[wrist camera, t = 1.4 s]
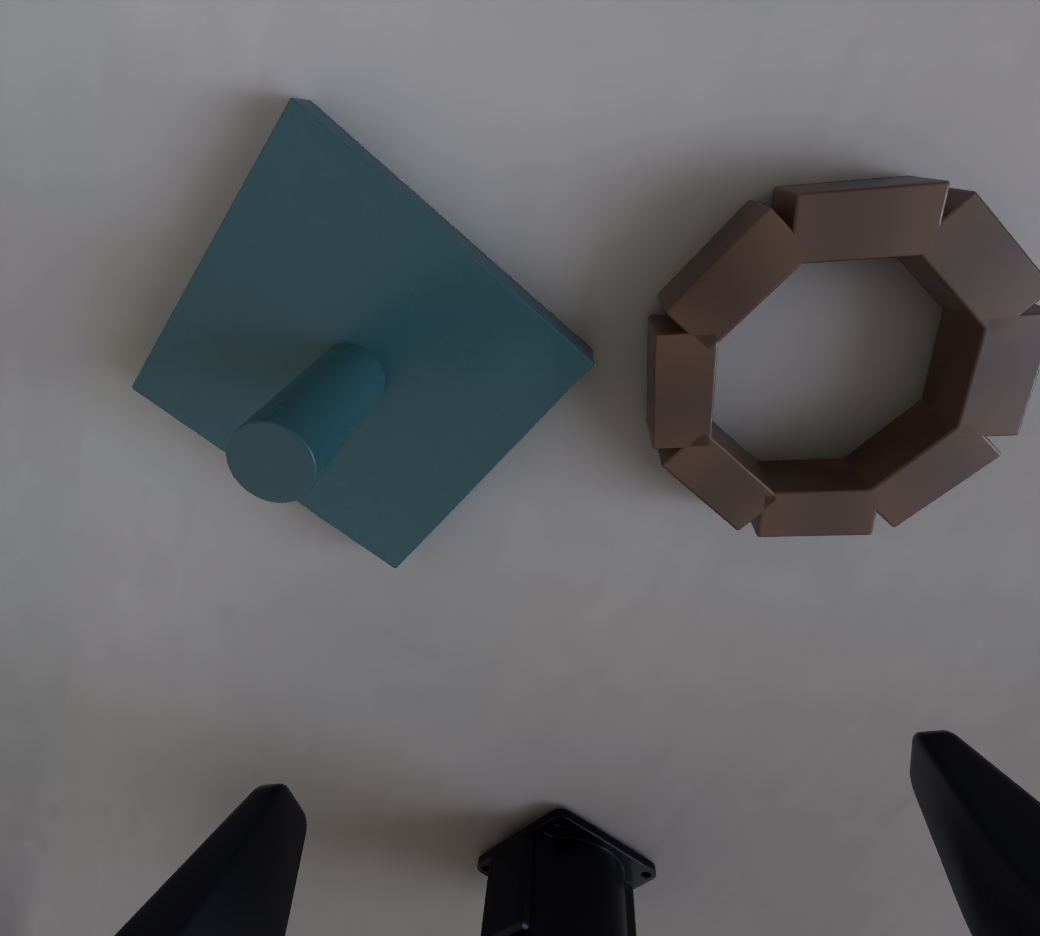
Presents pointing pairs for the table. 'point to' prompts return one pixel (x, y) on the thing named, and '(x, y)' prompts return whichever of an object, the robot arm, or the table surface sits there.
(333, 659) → the table surface
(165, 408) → the post stand
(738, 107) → the table surface
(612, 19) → the table surface
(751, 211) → the ring
